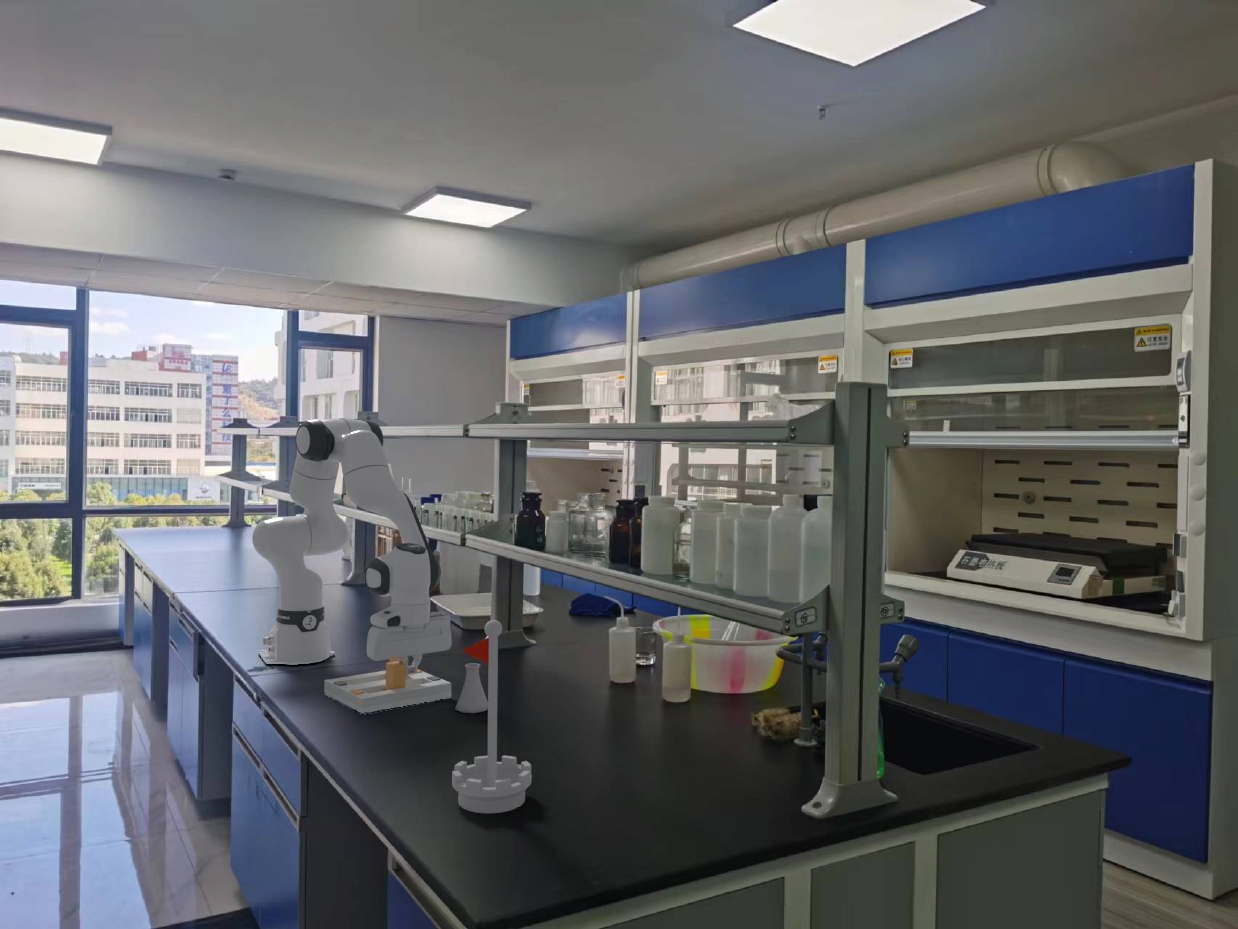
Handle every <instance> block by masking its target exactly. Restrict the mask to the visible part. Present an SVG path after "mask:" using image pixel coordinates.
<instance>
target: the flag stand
mask: <svg viewBox="0 0 1238 929" xmlns="http://www.w3.org/2000/svg"><path fill="white" fill-rule="evenodd" d="M484 633H485V635H486V636H487V637H486V638H484V639H482V640H481V641H478V642H477V643H475V644H472V645H470V646H468V647H465V648H464V649H462V650H461V652H463V653H465V654H467V655H469V656H471V657H473V658H475V659H477V660H479V661H481V662H484V663H485V664H487V665H488V671H487V672H488V677H487V680H488V682H487V683H488V684H487V685H488V686H487V687H488V688H487V689H488V690H487V692H488V693H487V698H488V699H487V701H488V709H487V755H480V756H474V757H473V758H474V759H473V761H474V762H473V764H469V765H468V762H467V761H466V760H465V761H464V760H461V761H459V762H457V763H456V764H454V770H452V771H451V777H452V778H451V786H452V788H453V789H454V790H455V791H456V792H457V793H458V796H457V797H458V799H457V801H458V805H459V807H461V808H462V809H463V810H466V811H469V812H473V813H479V814H498V813H499V814H501V813H504V812H509V811H513V810H516V809H517V807H518V808H519V807H521V806H522V805H523V804H524V803H525V802H526V790H527V788H529V787H530V786H531V784H532V764H531V763H530V762H528V761H527V760H524V761H521V762H520V764H519V763H517V760H518V759H517V756H512V755H505V754H504V755H502V756H501V761H498V759H497V758H498V683H499V682H498V666H499V665H498V664H499V662H498V658H499V656H498V655H499V636H501V634H502V633H503V625H502V623H501V622H500V621H499V620H496V619H491V620H489V621H487V622H486V624H485V625H484Z"/></svg>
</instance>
